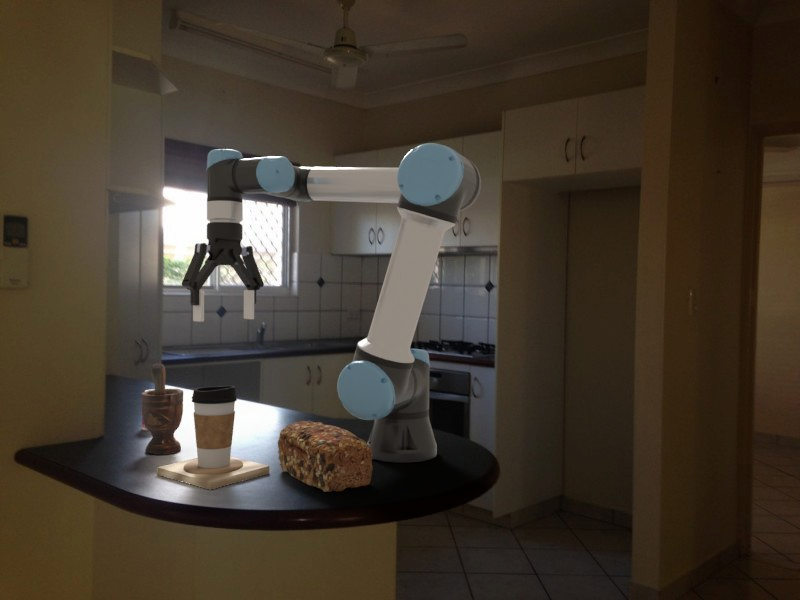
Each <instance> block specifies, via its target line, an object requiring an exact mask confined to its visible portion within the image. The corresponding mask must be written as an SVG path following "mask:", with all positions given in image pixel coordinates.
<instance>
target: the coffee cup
mask: <svg viewBox="0 0 800 600" xmlns="http://www.w3.org/2000/svg"><path fill="white" fill-rule="evenodd" d="M236 391H237V390H236V386H234V385H224V386H222V385H221V386H220V385H219V386H204V387H197V388H196V387H195V388H194V389H193V393H192V397H191V402H192V403H193V407H194V412H193V421H194V423H193V424H194V431H195V444H196V451H197V452H196V453H197V458H198V466H199V467H202V468H221V467H225V466H228V465H229V464H230V457H231V453H232V444H233V435H234V425H235V416H236V415H235V414H236V411H235V404H236V403H235V402H236V401H238V400H237V397H238V396H237V394H236V393H237V392H236Z"/></svg>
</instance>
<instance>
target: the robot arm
mask: <svg viewBox="0 0 800 600" xmlns="http://www.w3.org/2000/svg"><path fill="white" fill-rule="evenodd" d="M206 158H207V160H206V169H205V172H206V187H207V190H206V192H207V196H206V198H207V199H206V219H207V221H209V222H208V223H207V224H206V239H207V240H208V243H206V242H199V243H198V242H197V243H195V244H194V254H193V256H192V258H191V260H190V263H189V266H188V268H187V270H186V272H185V274H184V277H183V279H182V281H181V286H182V287H183V288H186V289H187V290H188V291H189V292H190V294H189V295H190V305H191V306H192V321H193V322H199V323H201V322H203V323H204V322H205V290H204V289H203V290H202V287H203V286H204V284H205V283H206V282H207V280H208V279H209V278H210V277H211V275H212V273H213V272H214V270H216V268H217V267H218V266H226V267H228V266H230V267H231V268H232V269H233V270H234V271H235V273H236V274H237V276H238V277H239V279H240V280H241V282H242V283H243V285H244V287H245V288H246V289H245V290H243V319H244V320H255V305H256V304H257V291H258V290H260V289H261V288H263V287H264V284H265V283H264V280H263V278H262V276H261V273H260V269H259V267H258V265H257V262H256V260H255V256H254V251H253V250H254V248H253V246H252V245H244V246H242V244H241V243H242V240H243V225H242V223H241V222H243V219H244V218H243V216H244V215H243V211H244V210H243V209H244V208H243V201H244V200H243V195H254V194H256V195H258V194H264V195H269V196H274V197H278V198H283V199H289V200H292V201H294V202H298V203H307V202H313V201H316V202H317V201H322V202H349V203H350V202H351V203H352V202H354V203H381V204H382V203H383V204H397V205H396V206H397V207H396V209H397V211H398V214H399V215H400V217H401V221H400V225H399V229H398V232H397V236H396V239H395V242H394V246H393V250H392V252H391V256H390V259H389V261H388V266H387V269H386V273H385V276H384V280H383V283H382V287H381V289H380V293H379V298H378V300H377V304H376V307H375V310H374V313H373V317H372V321H371V324H370V327H369V331H368V333H367V337H365V338H363V339H361V340H359V341H358V342H357V344H356V349H355V351H354V354H353V358H352V361H350V362H349V363H348V364H347V365H345V367H344V368H343V369H342V370H341V371H340V373H339V376H338V379H337V383H336V384H337V386H336V387H337V388H336V389H337V394H338V398H339V401H341V404H342V406H343V408H344V409H345V410H346V412H348V413H349V414H351V415H352V416H353V417H355V418H357V419H360V420H363V421H364V420H365V421H373V420H374V421H373V423H372V424H373V425H372V428H371V431H370V433H369V437H368V440H367V442H366V444H367V445H368V446H369V447H370V448H371V451H372V460H375V461H376V460H377V461H381V462H387V463H406V464H407V463H420V462H425V461H429V460H432V459H435V458H436V457H437V455H438V453H437V451H438V449H437V448H438V447H437V442H436V439H435V434H434V431H433V428H432V424H431V421H430V371H431V369H430V368H431V363H430V356H429V352H428V351H427V350H425V349H419V348H411V345H412V342H413V339H414V336H415V332H416V331H417V330H416V329H417V326H418V323H419V319H420V315H421V312H422V309H423V305H424V302H425V300H426V296H427V292H428V290H429V286H430V283H431V279H432V276H433V273H434V270H435V266H436V263H437V259H438V256H439V252H440V250H441V247H442V242H443V239H444V236H445V233H446V231H448V230H450V229H452V228H453V227H455V226H456V223H457V220H458V218H459V214H460V212H463V211H464V210H467V209H469V208H470V207H471V206H472V205H473V204H474V203H475V202H476V200H477V199H478V197H479V195H480V193H481V188H482V178H481V174H480V171H479V169H478V167H477V166H476V165H475V163H474V162H473V161H472V160H470V159H469V158H468V157H466V156H463V155H462V154H460V153H459V152H457V151H456V150H455V149H453V148H452V147H449V146H446V145H444V144H440V143H434V142H427V143H423V144H420V145H418V146H416V147H414V148H412V149H410V151H408V152H407V153H406V155H404V157H403V159H402V160H401V161H400V164H399V166H398V167H373V166H372V167H370V166H369V167H366V166H365V167H360V166H359V167H358V166H356V167H352V166H345V167H344V166H343V167H342V166H337V167H336V166H296V165H293V164H292V162H290V160H289V158H287V157H286V156H281V155H280V156H278V155H277V156H275V155H268V156H261V157H251V158H250V157H249V158H244V156H243V154H242V152H241V151H239V150H236V149H230V148H226V149H225V148H218V149H216V148H215V149H212V150H210V151H209V152H208V153H207V157H206ZM207 254H208V255H209V256H208V257H207V258H206V256H207ZM205 259H206V260H205ZM203 263H204V264H203Z"/></svg>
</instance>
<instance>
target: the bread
mask: <svg viewBox="0 0 800 600" xmlns="http://www.w3.org/2000/svg"><path fill="white" fill-rule="evenodd" d="M277 448H278V460H279V465H280V469H281V470H282V473H288V474H289V475H290V476H291V477H292V478H295V479H297V480H298V481H301V482H302V483H304V484H306V485H308V486H310V487H316V488H317V489H320V490H322V491H323V492H325V493H326V492H330V493H332V492H333V491H335V492H341V491H344V490H345V489H346V488H347V489H348V488H360V487H365V486H368V485H370V483H371V480H372V475H373V465H372V464H373V463H372V461H373V458H372V451H371V448H370V447H369V446H368V445H367V441H365V440H364V439H362V438H359V437H358V436H357V435H355V434H354V433H352V432H351V431H349V430H346V429H344V428H341V427H339V426H336V425H333V424H332V425H331V424H324V423H323V422H320V421H317V422H315V421H312V420H301V421H297V422H292V423H290V424H287V425H286V426H285V427H283V429H281V430H280V432H279V438H278V441H277Z"/></svg>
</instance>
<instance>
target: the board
mask: <svg viewBox="0 0 800 600" xmlns="http://www.w3.org/2000/svg"><path fill="white" fill-rule="evenodd" d="M156 475H157V476H159V477H162V476H164V478H166V477H167V479H169V478H172V479H171V480H173V479H175V480H174V481H176V480H179V481H183V482H187V483H190V484H193V485H196V486H199V487H198V488H200V487H202V488H201V489H203V488H206V489H205V490H207V489H209V490H208V491H212V490H211V489H213V490H216V489H215V488H217V489H220V488H223V487H222V486H224V487H226V486H225V485H227V486H230V485H229V484H231V485H233V484H232V483H234V484H236V483H235V482H238V483H240V482H239V481H241V482H243V481H242V480H245V481H247V480H246V479H248V480H251V478H252V479H255V478H259V477H262V475H263V476H266V475H270V465H267V464H262V463H259V462H255V461H251V460H247V459H243V458H238V457H233V456H230V464H229V465H228V466H225V467H221V468H202V467H199V466H198V457H194V458H191V459H187V460H182V461H178V462H174V463H170V464H165V465H160V466H158V467H157V468H156ZM258 476H259V477H258ZM254 477H255V478H254ZM179 481H178V482H179ZM183 482H182V483H183ZM190 484H189V485H190ZM193 485H192V486H193ZM196 486H195V487H196ZM219 487H220V488H219Z"/></svg>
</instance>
